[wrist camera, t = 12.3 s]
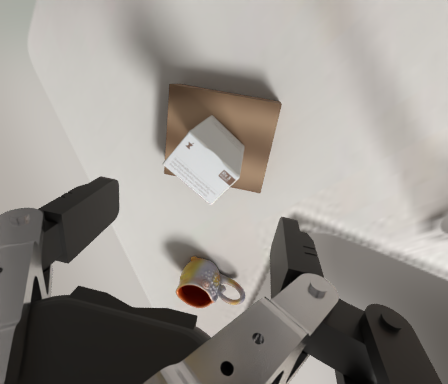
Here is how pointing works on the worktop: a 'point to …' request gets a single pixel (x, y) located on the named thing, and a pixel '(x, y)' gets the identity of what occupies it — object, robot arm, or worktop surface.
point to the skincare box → (207, 159)
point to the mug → (205, 284)
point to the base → (226, 125)
